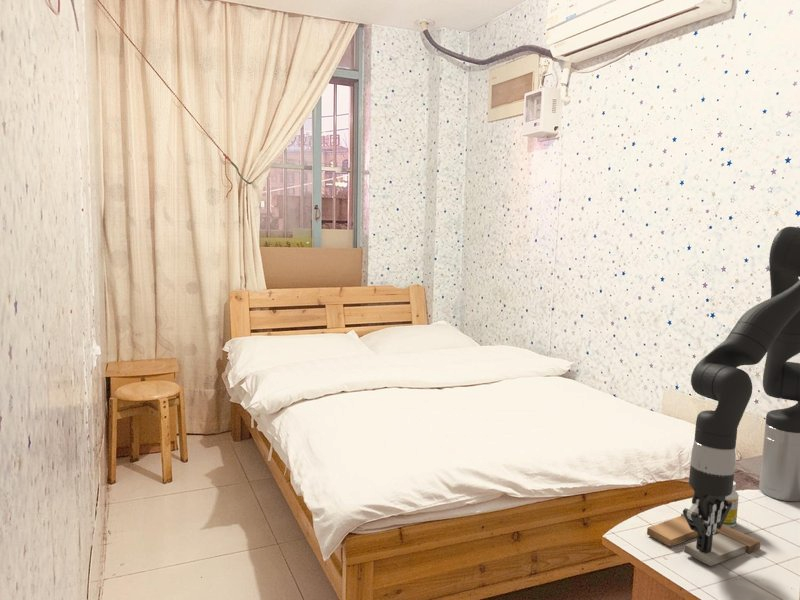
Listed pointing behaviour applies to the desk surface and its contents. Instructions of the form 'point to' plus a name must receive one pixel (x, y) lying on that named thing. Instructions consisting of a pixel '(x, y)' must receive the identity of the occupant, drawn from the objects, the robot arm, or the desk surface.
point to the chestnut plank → (672, 531)
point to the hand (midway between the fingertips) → (703, 550)
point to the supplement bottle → (732, 508)
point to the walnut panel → (739, 538)
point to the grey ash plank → (717, 550)
